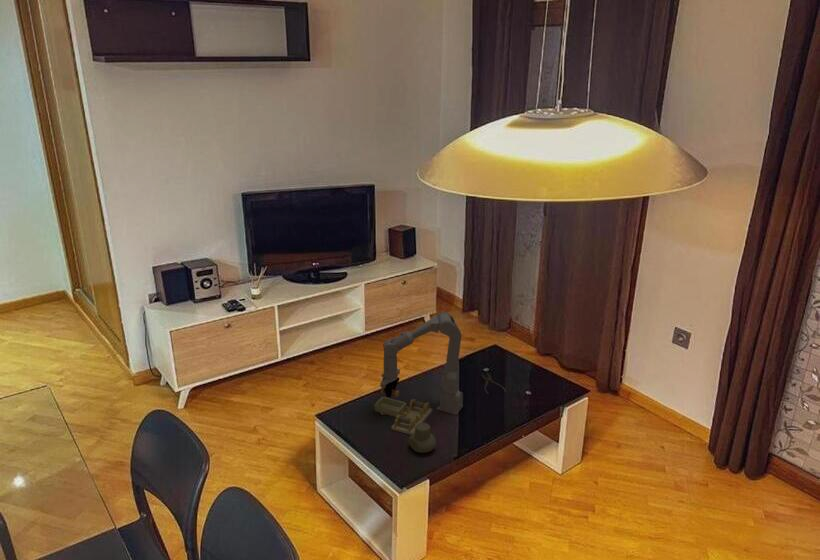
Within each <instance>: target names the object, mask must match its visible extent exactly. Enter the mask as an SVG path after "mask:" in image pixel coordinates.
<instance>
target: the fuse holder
mask: <svg viewBox="0 0 820 560" xmlns="http://www.w3.org/2000/svg"><path fill="white" fill-rule="evenodd" d="M413 400H416V401H417V399H416V398H413ZM426 403H428V409H427V410H425V407H423V409H422V408H418V407H414V406H412V404H410V403H409V404H408V406H407V407H406V410H405V411H404V412H402V415H401V416H404V417H408V418H413V419H415V424H414V426H411V424H405V423H401V422H397V420H396V419H394V423H393V424H392V425H391V431H392V430H393V431H396V432H400V433H403V434H406V435H410V436H411V435H412V434H413V433H415V426H416V425H417V424H418V423H425V421H426V419H427V418H428V417H429V416H430V415H431V413H432V412H433V408H430V402H426Z"/></svg>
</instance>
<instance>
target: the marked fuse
mask: <svg viewBox="0 0 820 560" xmlns="http://www.w3.org/2000/svg"><path fill="white" fill-rule="evenodd" d="M380 388H381V389H380V393H381V394H385V390H384V388H382V387H380ZM400 393H401V392H400V390H398V389H395V390H393V389H392V395H391V397H392V396H393V397H394V398H399V396H400ZM385 395H386V394H385Z"/></svg>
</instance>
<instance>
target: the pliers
mask: <svg viewBox="0 0 820 560" xmlns="http://www.w3.org/2000/svg"><path fill="white" fill-rule="evenodd" d="M480 375H481V378H482V379H483V380H484V381H485V385H484V391H485V393H486V394H487V395H490V394H489V392H488V391H487V390H488V389H487V387H488V385H489V382H491V383H492V384H494V385H496V386H498V387H500V388H501V389H502V390H503V391H504V393H507V391H506V389H505V387H504V386H503V385H502V384H499V383H498V382H496V381H494V380H493V378H492V376H491V374H490V373H488V372H486V375H484V373H483V372H481V373H480Z"/></svg>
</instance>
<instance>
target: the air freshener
mask: <svg viewBox="0 0 820 560" xmlns="http://www.w3.org/2000/svg"><path fill="white" fill-rule="evenodd" d="M408 443H409V446H410V448H411V449H412V450H413V451H415V452H417V453H421V454H423V453H428V452H431V451H433V450H434V448H436V446H437V440H436V438H435V436H434V434H432V433H431V425H430V424H429V423H426V422H423V423H418V424H417V425H416V426H415V433H413V434H412V435H410V436H409V438H408Z"/></svg>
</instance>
